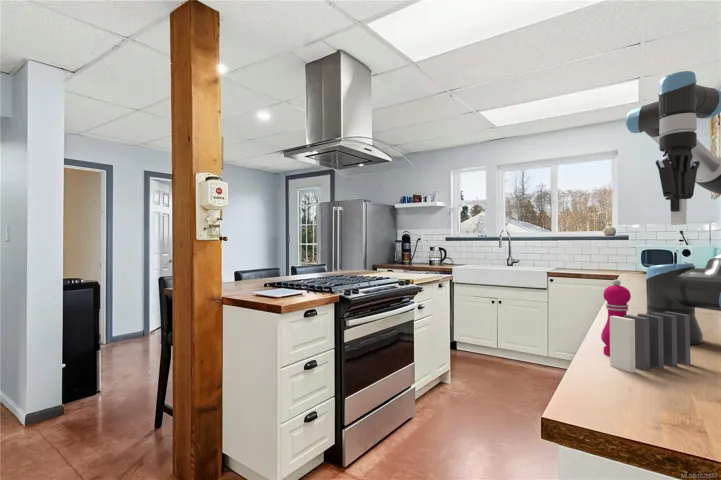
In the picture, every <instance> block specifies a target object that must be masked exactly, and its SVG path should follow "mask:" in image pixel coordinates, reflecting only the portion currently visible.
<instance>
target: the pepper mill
mask: <svg viewBox="0 0 721 480" xmlns="http://www.w3.org/2000/svg"><path fill="white" fill-rule="evenodd" d="M602 296H603V299H604V300H605V301H606V302H607V303H605V309H607V320H606V323H605V325H604V327H603V328H602V331H601V335H600V336H601V337H600V338H601V341H602V342H603V343H604V345H605V346H603V354H604V355H605V356H607V357H610V316H618V317H624V315H627V311H629V305H628V303H629V302H630V300H631V297H632V296H631V291H630V290H629V288H626V287H625V286H622V285H621V280H619V279H613V281H612V285H609V286H607V287H606V288H605V289H604V290H603V295H602Z"/></svg>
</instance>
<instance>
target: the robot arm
mask: <svg viewBox="0 0 721 480" xmlns="http://www.w3.org/2000/svg"><path fill="white" fill-rule="evenodd" d="M697 82H698V80H697V78H696V73H695V72H694V71H692V70H682V71H677V72H673V73H671V74H667V75H666V76H664V77H662V78H661V79H660V80H659V83H658V93H657V96H658V101H654V102H651V103H649V104H644V105H641V106H639V107H637V108H634V109H631V110H630V111H629V112H628V113H627V116H626V118H625V125H626V128H627V130H628V131H629V132H630V133H631V134H641V133H645V134H646V135H647V136H648V137H650V138H651V139H652V140H653V141H655V143H657V144H658V145H659V146H658V148H659V151H660V152H662V158H661V159H657V160H655V165H656V167H657V169H658V174H659V180H660V185H661V189H662V196H663V197H664V199H665V200H666V201H670V204H669V205H670V206H669V207H670V225H673V226H678V225H679V226H680V225H682V226H683V225H687V200H690V199H692V198H693V196H694V192H695V186H696V184H697V185H698V186H700V187H701V188H703V189H705V190H707V191H709V192H712V193H714V194H717V195H720V196H721V156H716V155H714V154H713V153H712V152H711V151H710V150H709V149H708V148H707V147H706V146H705V145H704V144H703V143H701V142H700V140H699V139H698V138H697V137H698V136H697V132H696V130H697V129H698V127H697V126H698V125H697V119H701V120H703V119H711V118H714V117H716V116H717V115H719V114H720V113H721V90H719V89H716V88H714V87H709V86H704V85H703V86H702V85H699V84H697ZM645 286H646V287H645V288H646V289H645V291H646V293H645V294H646V313H645V314H647V315H651V313H661V314H663V312H674V313H680V314H687V315H690V345H700V344H702V343H704V335H703V332H702V329H701V326H700V325H699V322H698V319H697V317H696V312H695V311H696V309H702V310H709V311H717V312H721V249H720V250H719V253H718V254H717V255H716V256H713V257H711V258H709V259H708V260H707V263H706V265H705V267H704V268H703V267H702V268H701V267H700V268H699V267H698V268H697V267H696V266H695V263H694V262H684V263H669V264H658V265H657V264H656V265H651V266H649V267H647V269H646V275H645Z"/></svg>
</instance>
